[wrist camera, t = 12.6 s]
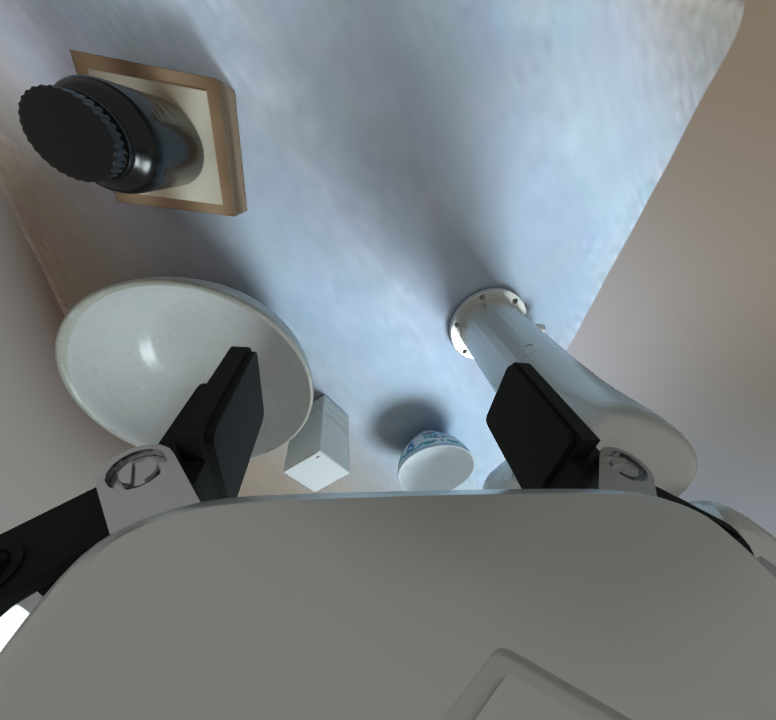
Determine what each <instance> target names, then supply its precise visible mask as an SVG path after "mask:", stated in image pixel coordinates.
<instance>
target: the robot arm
mask: <svg viewBox="0 0 776 720" xmlns="http://www.w3.org/2000/svg"><path fill="white" fill-rule="evenodd" d="M480 296H481V297H480ZM544 331H545V325H544V324H534V323H533V322H532V321H531V320H530V319H528V318H527V312H526V307H525V305H524V302H523V301H522V300H521V298H520V297H519V296H517V295H516V294H515V293H513V292H512V291H510V290H508V289H504V288H497V287H495V288H487V289H483V290H480V291H478V292H476V293H474V294H472V295H471V296H469V297H468V298H466V299H465V300H464V301H463V302H462V303H461V304H460V305H459V307H458V308H457V309H456V311H455V312H454V314H453V316H452V319H451V322H450V327H449V335H450V339H451V342H452V344H453V346H454V347H455V349H456V350H457V351H458V352H459V353H460V354H461V355H463V356H465V357H467V358H471V359H474V360H475V362H476V363H477V365H478V366H479V368H480V369H481V371H482V372H483V374H484V375H485V377H486V378H487V380H488V382H489V383H490V385H491V386H492V388H493V389H494V391H495V392H496V395H495V398H494V400H493V402H492V405H491V407H490V409H489V412H488V414H487V418H486V422H487V425H488V427H489V429H490V431H491V433H492V435H493V436H494V438H495V440H496V442H497V444H498V446H499V448H500V449H501V451H502V453H503V455H504V457H505V459H506V460H505V461H504V462H503V463H501V464H500V465H499V466H498V467H496V468H495V469H494V470H493V471H492V472H491V473H490V474H489V475H488V477H487V478H486V480H485V482H484V486H483V490H437V491H390V492H350V493H312V494H287V495H263V496H247V497H237V495H238V493H239V490H240V487H241V484H242V481H243V478H244V475H245V472H246V469H247V466H248V463H249V460H250V457H251V454H252V451H253V448H254V445H255V442H256V439H257V437H258V434H259V431H260V428H261V425H262V422H263V418H264V406H263V398H262V389H261V381H260V372H259V364H258V356H257V352H252V350H251V348H250V347H238V346H231V347H230V349H229V350H228V352H227V353H226V355H225V356H224V358H223V359H222V361H221V362H220V364H219V365H218V367H217V369H216V370H215V372H214V373H213V375H212V376H211V378H210V379H209V381H208V382H207V383H202V384H200V385H199V386H198V387H197V388H196V390H195V391H194V392H193V394H192V395H191V397H190V398H189V400H188V401H187V403H186V404H185V406H184V407H183V408H182V410H181V411H180V413H179V414H178V416H177V417H176V419H175V420H174V421H173V423H172V424H171V426H170V427H169V429H168V430H167V432H166V433H165V435H164V436H163V437H162V439H161V440H160V442H159V443H158V444H149V445H142V446H138V447H135V448H132V449H129V450H127V451H125V452H123V453H121V454H119V455H117V456H116V457H115V458H113V459H112V460H110V461H109V462H108V463H107V464H106V465H105V466H104V467H103V468H102V469H101V470H100V472H99V474H98V476H97V478H96V488H94V489H92V490H90V491H87V492H86V493H83V494H81V495H79V496H77V497H75V498H73V499H71V500H69V501H67V502H65V503H63V504H61V505H59V506H57V507H55V508H53V509H51V510H49V511H47V512H45V513H43V514H41V515H39V516H37V517H35V518H33V519H31V520H29V521H27V522H25V523H23V524H21V525H19V526H17V527H15V528H13V529H11V530H9V531H7V532H4V533H2V534H0V720H776V538H775V537H774V536H772V535H771V534H770V533H769V532H767V531H766V530H765V529H763V528H762V527H760V526H759V525H757V524H756V523H755V522H754V521H752V520H751V519H749V518H748V517H746V516H745V515H743V514H741V513H739V512H738V511H736V510H734V509H733V508H731V507H728V506H725V505H723V504H721V503H718V502H712V501H707V500H696V501H691V502H686V501H684V500H682V499H680V498H678V496H680V495H681V494H682V493H683V492H684V491H685V490H686V489H687V488H688V487H689V486H690V484H691V482H692V481H693V480H694V477H695V475H696V473H697V468H698V461H697V456H696V453H695V451H694V449H693V447H692V445H691V444H690V442H689V441H688V440H687V439H686V437H685V436H684V435H683V434H682V433H681V432H680V431H679V430H677V429H676V428H675V427H674V426H673V425H672V424H671V423H669V422H668V421H667V420H665V419H663V418H662V417H661V416H659V415H658V414H656V413H655V412H653V411H652V410H650V409H648V408H647V407H645V406H643V405H642V404H640V403H638V402H637V401H635V400H633V399H631V398H630V397H628V396H627V395H625V394H623V393H622V392H620V391H618V390H617V389H615V388H614V387H612V386H611V385H609V384H608V383H606V382H605V381H603V380H602V379H600V378H599V377H598V376H596V375H595V374H594V373H593V372H591V371H590V370H589V369H588V368H586V367H585V366H584V365H582V364H581V363H580V362H579V361H578V360H576V359H575V358H574V357H572V356H571V355H570V354H569V353H568V352H567V351H566V350H564V349H563V348H562V347H561V346H560V345H559V344H557V343H556V342H555V341H554V340H553V339H551V338H550V337H549V336H548V335H547V334H546V333H544Z"/></svg>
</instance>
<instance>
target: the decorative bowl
mask: <svg viewBox="0 0 776 720" xmlns="http://www.w3.org/2000/svg"><path fill="white" fill-rule="evenodd" d="M231 346H238V347H250V348H251V350H252V352H257V356H258V364H259V372H260V381H261V389H262V398H263V406H264V418H263V422H262V425H261V428H260V431H259V434H258V437H257V439H256V442H255V445H254V448H253V451H252V454H251V457H250V459H254V458H257V457H260V456H263V455H266V454H268V453H271V452H273V451H275V450H277V449H278V448H280V447H282V446H283V445H285V444H286V443H287V442H289V441H290V440H291V439H292V438H293V437H295V435H296V434H297V433H298V432H299V431H300V430H301V429H302V427H303V426H304V424H305V423H306V421H307V419H308V417H309V414H310V412H311V408H312V404H313V396H314V386H313V378H312V374H311V370H310V366H309V363H308V361H307V358H306V356H305V353H304V351H303V349H302V347H301V345H300V344H299V342H298V340H297V339H296V337H295V336H294V334H293V333H292V331H291V330H290V329H289V328H288V326H287V325H286V324H285V323H284V322H283V321H282V320H281V319H280V318H279V317H278V316H277V315H276V314H275V313H274V312H272V311H271V310H270V309H269V308H267V307H266V306H265V305H263V304H262V303H260V302H259V301H257V300H256V299H254V298H252V297H250V296H249V295H247V294H245V293H242V292H240V291H238V290H236V289H233V288H231V287H228V286H225V285H222V284H218V283H215V282H211V281H206V280H201V279H194V278H186V277H148V278H139V279H132V280H127V281H123V282H118V283H115V284H111V285H109V286H106V287H103V288H101V289H99V290H96V291H94V292H92V293H91V294H89V295H87V296H86V297H84V298H83V299H82V300H80V301H79V302H78V303H77V304H75V305H74V306H73V307H72V308H71V310H70V311H69V312H68V313H67V315H66V316H65V317H64V319H63V321H62V323H61V325H60V327H59V330H58V333H57V337H56V343H55V357H56V363H57V368H58V371H59V374H60V376H61V379H62V381H63V383H64V385H65V387H66V388H67V390H68V391H69V393H70V395H71V396H72V398H73V399H74V400H75V402H76V403H77V404H78V405H79V406H80V407H81V409H82V410H84V412H85V413H86V414H87V415H89V416H90V417H91V418H92V419H93V420H94V421H96V422H97V423H98V424H99V425H100V426H102V427H103V428H105V429H106V430H108V431H109V432H111V433H112V434H114V435H115V436H117V437H119V438H120V439H122V440H124V441H126V442H128V443H130V444H132V445H134V446H136V447H138V446H142V445H149V444H158V443H159V442H160V440H161V439H162V437H163V436H164V435H165V433H166V432H167V430H168V429H169V427H170V426H171V424H172V423H173V421H174V420H175V419H176V417H177V416H178V414H179V413H180V411H181V410H182V408H183V407H184V406H185V404H186V403H187V401H188V400H189V398H190V397H191V395H192V394H193V392H194V391H195V390H196V388H197V387H198V386H199V385H200V384H202V383H207V382H208V381H209V379H210V378H211V376H212V375H213V373H214V372H215V370H216V369H217V367H218V365H219V364H220V362H221V361H222V359H223V358H224V356H225V355H226V353H227V352H228V350H229V349H230V347H231Z"/></svg>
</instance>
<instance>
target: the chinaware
mask: <svg viewBox="0 0 776 720" xmlns="http://www.w3.org/2000/svg"><path fill="white" fill-rule="evenodd" d="M474 467H475V461H474V458H473V456H472V454H471V453H470V451H469V450H468V449H467V447H466V446H465V445H464V444H463V443H462V442H460V441H459V440H458V439H456V438H455V437H453V436H451V435H449V434H446V433H442V432H438V431H435V430H426V431H422V432H420V433H418V434H417V435H416V436H415V437H414V438H413V440H411V441H410V442H409V443H408V445H407V446H406V447H405V449H404V450H403V452H402V454H401V457H400V460H399V464H398V481H399V483H400V485H401V486H402V487H403V488H404V489H405V490H407V491H437V490H452V489H454V488H456V487H458V486H460V485H461V484H463V483H464V482H465V481H466V480H467V479H468V478H469V477H470V476H471V474H472V472H473V470H474Z"/></svg>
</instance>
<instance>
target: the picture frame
mask: <svg viewBox="0 0 776 720" xmlns="http://www.w3.org/2000/svg"><path fill="white" fill-rule="evenodd" d="M70 52H71V56H72V59H73V62H74V65H75V68H76V72H77V75H89V76H93V77H98V78H101V79H104V80H108V81H111V82H114V83H117V84H120V85H123V86H126V87H130V88H133V89H136V90H139V91H142V92H145V93H148V94H152V95H155V96H157V97H160V98H162V99H164V100H166V101H168V102H170V103H172V104H173V105H175V106H176V107H177V108H178V109H180V110H181V111H182V112H183V113H184V114H185V115H186V116H187V117H188V119H189V120H190V121H191V123H192V124H193V125H194V127H195V129H196V130H197V132H198V134H199V136H200V139H201V142H202V145H203V150H204V164H203V168H202V171H201V173H200V175H199V176H198V177H197V178H196V179H195V180H194V181H193V182H191V183H189V184H187V185H184V186H179V187H174V188H168V189H163V190H157V191H152V192H146V193H140V194H124V193H119V192H115V191H114V193H115V196H116V199H117V202H123V203H131V204H139V205H147V206H155V207H163V208H171V209H179V210H187V211H195V212H203V213H211V214H219V215H227V216H236V215H239V214H241V213H243V212H245V211H247V203H246V194H245V184H244V175H243V165H242V156H241V147H240V137H239V128H238V118H237V109H236V99H235V91H234V90H233V89H231V88H230V87H228V86H227V85H225V84H224V83H222V82H221V81H219V80H218V79H215V78H210V77H205V76H200V75H194V74H189V73H184V72H179V71H174V70H169V69H164V68H159V67H154V66H149V65H144V64H139V63H134V62H129V61H124V60H119V59H114V58H109V57H104V56H99V55H94V54H89V53H84V52H79V51H74V50H70Z"/></svg>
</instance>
